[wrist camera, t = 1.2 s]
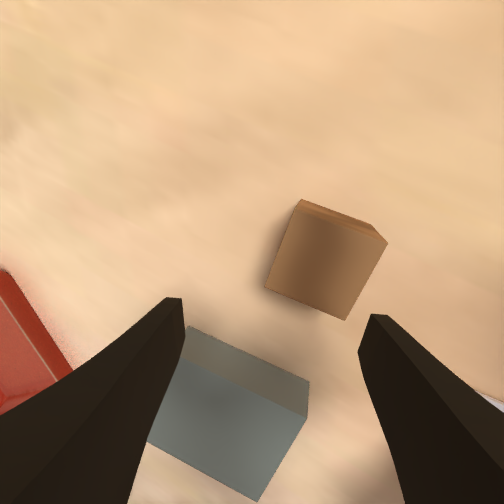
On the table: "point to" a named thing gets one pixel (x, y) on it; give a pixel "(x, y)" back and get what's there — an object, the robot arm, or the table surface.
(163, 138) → the table surface
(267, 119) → the table surface
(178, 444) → the slate-blue block
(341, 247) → the walnut cube
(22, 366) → the plant saucer
